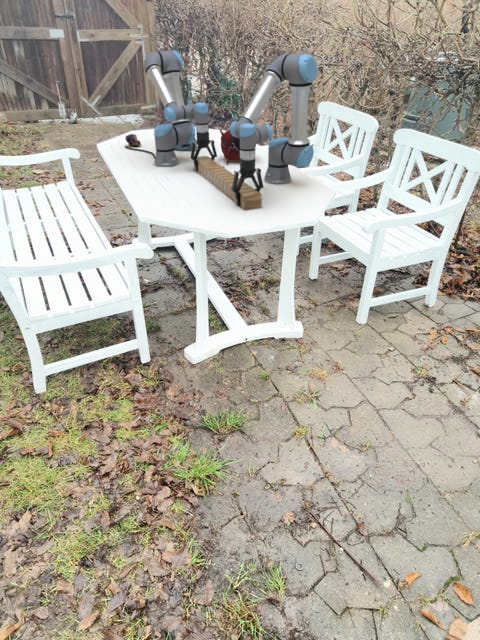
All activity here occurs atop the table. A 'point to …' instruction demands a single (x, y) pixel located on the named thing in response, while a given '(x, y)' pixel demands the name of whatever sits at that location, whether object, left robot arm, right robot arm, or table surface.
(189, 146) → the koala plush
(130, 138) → the rock
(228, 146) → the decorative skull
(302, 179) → the table surface
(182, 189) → the table surface
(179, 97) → the left robot arm
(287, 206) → the table surface
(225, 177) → the long beam
